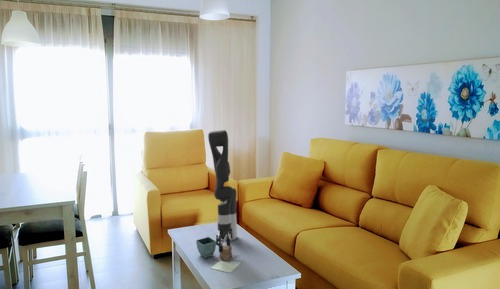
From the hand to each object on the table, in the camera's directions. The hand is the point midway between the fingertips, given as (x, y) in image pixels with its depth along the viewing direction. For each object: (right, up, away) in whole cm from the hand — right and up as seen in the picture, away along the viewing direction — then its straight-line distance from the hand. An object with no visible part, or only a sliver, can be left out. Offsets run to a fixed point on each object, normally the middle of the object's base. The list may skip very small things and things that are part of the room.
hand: (224, 249), depth 214 cm
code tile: (+1, -5, +1) cm, 5 cm away
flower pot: (-11, -5, +5) cm, 13 cm away
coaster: (+1, -7, -9) cm, 11 cm away
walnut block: (+1, -5, +1) cm, 5 cm away
